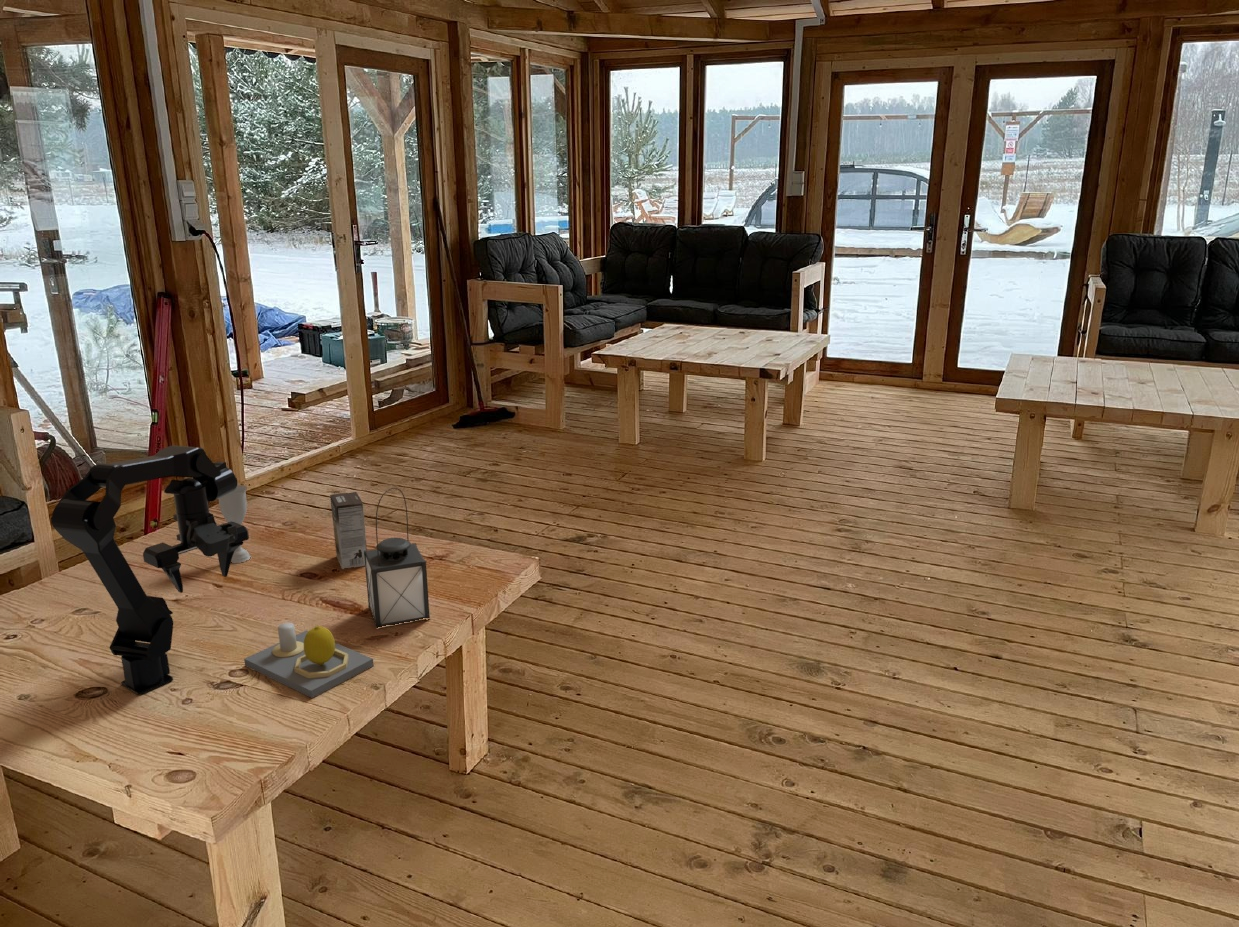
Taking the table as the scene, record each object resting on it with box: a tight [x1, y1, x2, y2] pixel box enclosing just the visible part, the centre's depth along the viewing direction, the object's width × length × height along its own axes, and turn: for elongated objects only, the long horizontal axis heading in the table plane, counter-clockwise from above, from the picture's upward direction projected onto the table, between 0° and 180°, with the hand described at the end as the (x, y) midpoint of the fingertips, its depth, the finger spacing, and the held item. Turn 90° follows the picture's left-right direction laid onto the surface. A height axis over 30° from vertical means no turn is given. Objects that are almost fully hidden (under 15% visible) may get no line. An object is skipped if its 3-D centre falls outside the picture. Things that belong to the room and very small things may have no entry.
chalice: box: [218, 484, 252, 564], centre depth 221 cm, size 7×7×18 cm
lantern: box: [364, 487, 431, 629], centre depth 191 cm, size 11×11×28 cm
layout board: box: [243, 622, 375, 699], centre depth 173 cm, size 14×20×6 cm
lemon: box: [304, 625, 336, 665], centre depth 170 cm, size 6×6×8 cm
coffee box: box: [329, 491, 368, 570], centre depth 220 cm, size 9×6×16 cm
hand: (203, 584), depth 181 cm, fingers open, 9 cm apart
